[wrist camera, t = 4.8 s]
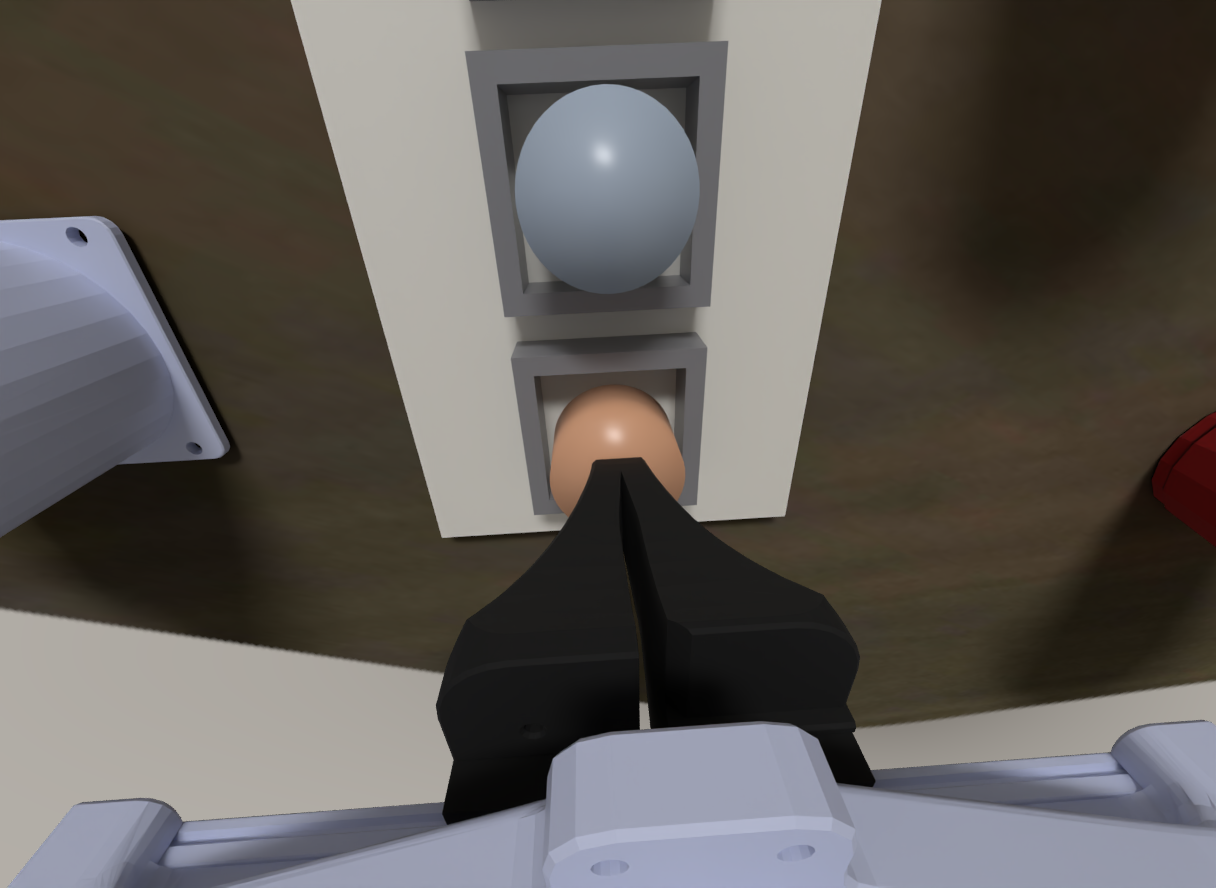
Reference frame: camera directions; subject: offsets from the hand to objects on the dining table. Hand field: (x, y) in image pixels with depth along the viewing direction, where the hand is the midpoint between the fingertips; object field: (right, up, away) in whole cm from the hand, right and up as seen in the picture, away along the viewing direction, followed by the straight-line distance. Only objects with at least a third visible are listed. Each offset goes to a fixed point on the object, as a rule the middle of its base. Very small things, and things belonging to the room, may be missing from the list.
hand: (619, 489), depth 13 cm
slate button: (0, +7, -1) cm, 8 cm away
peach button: (0, +1, +2) cm, 3 cm away
